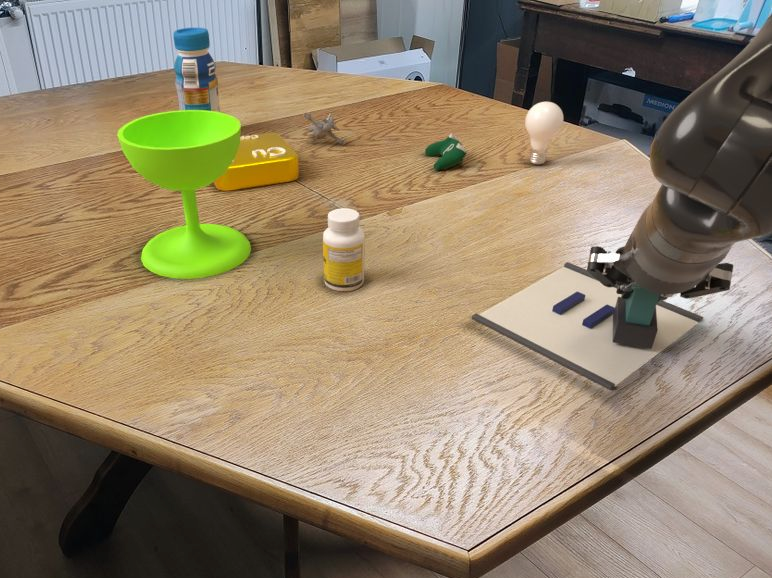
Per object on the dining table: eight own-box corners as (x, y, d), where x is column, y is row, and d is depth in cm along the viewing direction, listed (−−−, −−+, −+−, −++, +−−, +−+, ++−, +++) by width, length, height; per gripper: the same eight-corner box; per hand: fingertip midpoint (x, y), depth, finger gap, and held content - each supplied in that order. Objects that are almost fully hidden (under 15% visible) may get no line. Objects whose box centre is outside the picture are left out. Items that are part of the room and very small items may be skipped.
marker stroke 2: (605, 309, 82) (606, 303, 81) (614, 313, 81) (616, 307, 81) (581, 325, 79) (583, 319, 79) (590, 329, 79) (592, 323, 78)
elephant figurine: (340, 133, 141) (356, 130, 132) (325, 158, 141) (340, 156, 133) (301, 104, 137) (316, 98, 129) (286, 129, 137) (299, 126, 129)
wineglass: (273, 249, 99) (266, 125, 89) (185, 291, 90) (165, 159, 80) (205, 218, 109) (191, 103, 98) (119, 253, 100) (93, 130, 89)
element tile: (278, 153, 132) (277, 128, 129) (302, 180, 120) (301, 154, 117) (202, 163, 128) (199, 138, 126) (218, 193, 117) (215, 166, 114)
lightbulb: (553, 159, 125) (565, 97, 119) (555, 172, 120) (568, 108, 114) (518, 157, 127) (527, 96, 120) (518, 169, 122) (528, 106, 115)
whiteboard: (565, 272, 92) (567, 261, 91) (699, 328, 80) (703, 316, 79) (470, 326, 82) (471, 315, 81) (607, 399, 70) (611, 387, 69)
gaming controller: (446, 181, 123) (472, 157, 121) (433, 167, 121) (459, 142, 119) (435, 162, 130) (459, 140, 128) (422, 149, 129) (446, 126, 126)
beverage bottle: (174, 134, 143) (159, 31, 131) (207, 125, 147) (196, 24, 135) (197, 144, 137) (184, 37, 126) (231, 134, 142) (221, 29, 130)
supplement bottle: (332, 269, 94) (331, 203, 88) (369, 276, 92) (371, 208, 87) (317, 288, 90) (316, 220, 84) (356, 295, 88) (357, 226, 83)
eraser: (651, 349, 74) (672, 285, 70) (612, 342, 76) (630, 279, 71) (649, 320, 79) (669, 259, 74) (612, 314, 80) (629, 253, 76)
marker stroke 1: (575, 296, 84) (577, 291, 84) (584, 300, 84) (585, 294, 83) (551, 311, 82) (553, 305, 81) (560, 315, 81) (561, 309, 81)
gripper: (774, 210, 59) (713, 269, 75) (601, 192, 63) (580, 252, 79) (761, 294, 58) (703, 335, 74) (587, 269, 62) (568, 314, 78)
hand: (639, 292), depth 77 cm, fingers closed on eraser, 2 cm apart
